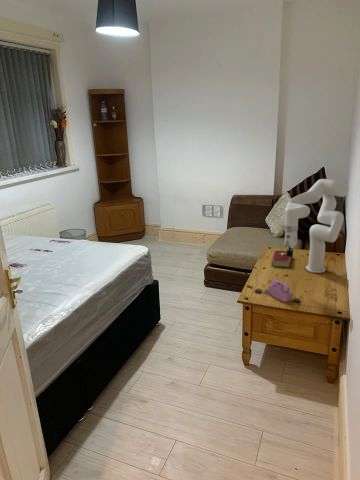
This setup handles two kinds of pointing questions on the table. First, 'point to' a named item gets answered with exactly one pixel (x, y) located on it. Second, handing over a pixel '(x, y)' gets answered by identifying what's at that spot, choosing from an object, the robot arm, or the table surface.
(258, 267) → the table surface
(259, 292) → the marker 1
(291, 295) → the toy telephone
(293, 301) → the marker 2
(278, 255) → the hardcover book
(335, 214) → the robot arm
